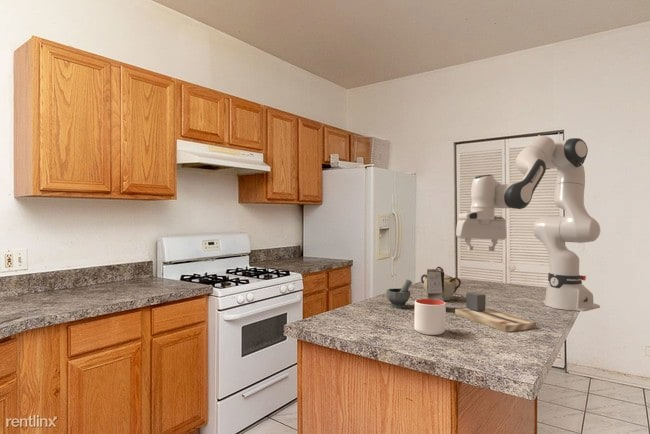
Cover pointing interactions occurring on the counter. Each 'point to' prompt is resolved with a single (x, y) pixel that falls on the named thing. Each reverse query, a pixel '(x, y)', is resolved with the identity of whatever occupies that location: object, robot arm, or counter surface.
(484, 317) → the fader panel
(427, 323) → the cup
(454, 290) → the sugar bowl
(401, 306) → the mortar and pestle
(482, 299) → the fader
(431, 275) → the coffee box
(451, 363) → the counter surface
